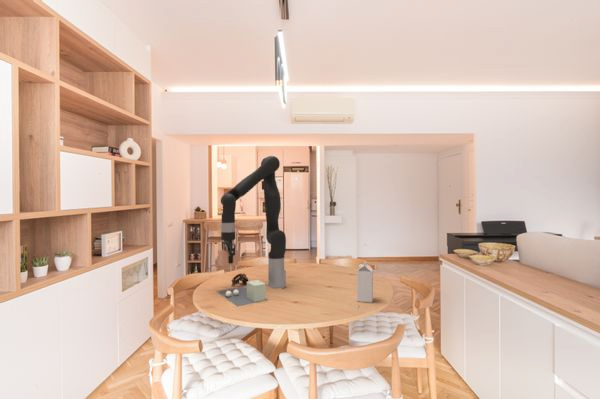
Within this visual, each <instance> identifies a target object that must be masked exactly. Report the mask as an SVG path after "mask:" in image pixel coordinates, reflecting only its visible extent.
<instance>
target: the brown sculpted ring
mask: <svg viewBox="0 0 600 399" xmlns="http://www.w3.org/2000/svg"><path fill="white" fill-rule="evenodd" d="M248 281H249V278H248V277H247V274H246V273H241V272H240V273H238V274H236V275H235V276H234V277H233V278H232V279H231V282H232V284H231V286H235V285H240V282H241V283H243V284H245V283H246V284H247V282H248Z"/></svg>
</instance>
